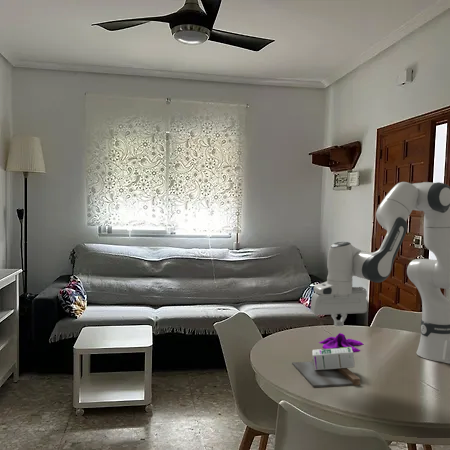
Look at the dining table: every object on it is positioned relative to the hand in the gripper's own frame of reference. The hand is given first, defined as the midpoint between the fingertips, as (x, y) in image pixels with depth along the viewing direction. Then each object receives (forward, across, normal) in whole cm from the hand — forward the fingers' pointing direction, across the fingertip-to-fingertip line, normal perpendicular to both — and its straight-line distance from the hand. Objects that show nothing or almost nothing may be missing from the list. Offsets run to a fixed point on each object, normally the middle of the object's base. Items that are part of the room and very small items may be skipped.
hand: (338, 325), depth 163 cm
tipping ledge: (+17, +5, 0) cm, 18 cm away
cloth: (+18, -14, -31) cm, 38 cm away
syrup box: (+12, -6, 0) cm, 13 cm away
